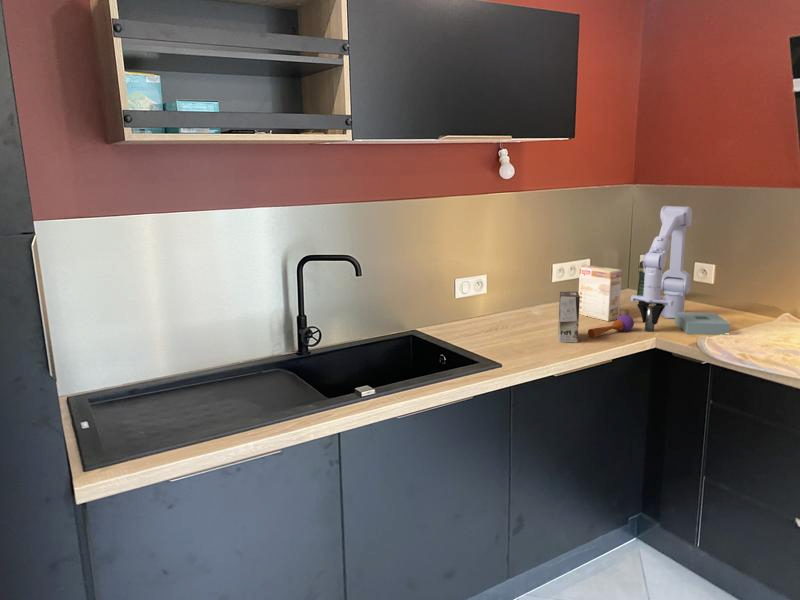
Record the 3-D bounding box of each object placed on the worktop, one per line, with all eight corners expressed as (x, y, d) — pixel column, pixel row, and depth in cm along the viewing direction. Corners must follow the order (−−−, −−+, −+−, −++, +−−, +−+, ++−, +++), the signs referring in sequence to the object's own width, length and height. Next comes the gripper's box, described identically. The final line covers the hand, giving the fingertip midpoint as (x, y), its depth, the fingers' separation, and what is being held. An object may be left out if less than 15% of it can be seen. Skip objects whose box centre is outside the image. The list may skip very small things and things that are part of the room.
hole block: (674, 322, 237) (675, 312, 236) (714, 323, 235) (715, 313, 234) (686, 333, 222) (687, 323, 221) (729, 334, 220) (730, 323, 219)
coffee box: (578, 342, 213) (580, 296, 210) (558, 342, 215) (560, 296, 211) (576, 335, 222) (578, 291, 219) (557, 335, 223) (559, 290, 220)
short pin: (618, 321, 240) (619, 309, 239) (626, 321, 239) (627, 309, 238) (619, 323, 237) (620, 311, 236) (628, 324, 236) (629, 311, 235)
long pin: (643, 329, 228) (645, 305, 226) (653, 329, 228) (654, 305, 226) (645, 332, 225) (647, 307, 223) (655, 332, 225) (656, 307, 223)
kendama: (583, 325, 222) (623, 313, 231) (586, 341, 222) (625, 329, 231) (596, 325, 216) (636, 313, 226) (598, 342, 217) (638, 329, 226)
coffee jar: (649, 305, 265) (652, 261, 261) (633, 302, 272) (635, 259, 268) (663, 302, 271) (666, 259, 266) (646, 299, 277) (649, 257, 273)
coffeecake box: (619, 319, 244) (622, 269, 240) (607, 321, 240) (610, 271, 236) (588, 311, 256) (590, 264, 252) (576, 314, 252) (579, 266, 248)
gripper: (627, 285, 225) (625, 321, 228) (668, 290, 215) (665, 328, 218) (636, 282, 230) (633, 318, 233) (676, 287, 220) (673, 324, 223)
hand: (649, 323), depth 226 cm, fingers closed on long pin, 3 cm apart
